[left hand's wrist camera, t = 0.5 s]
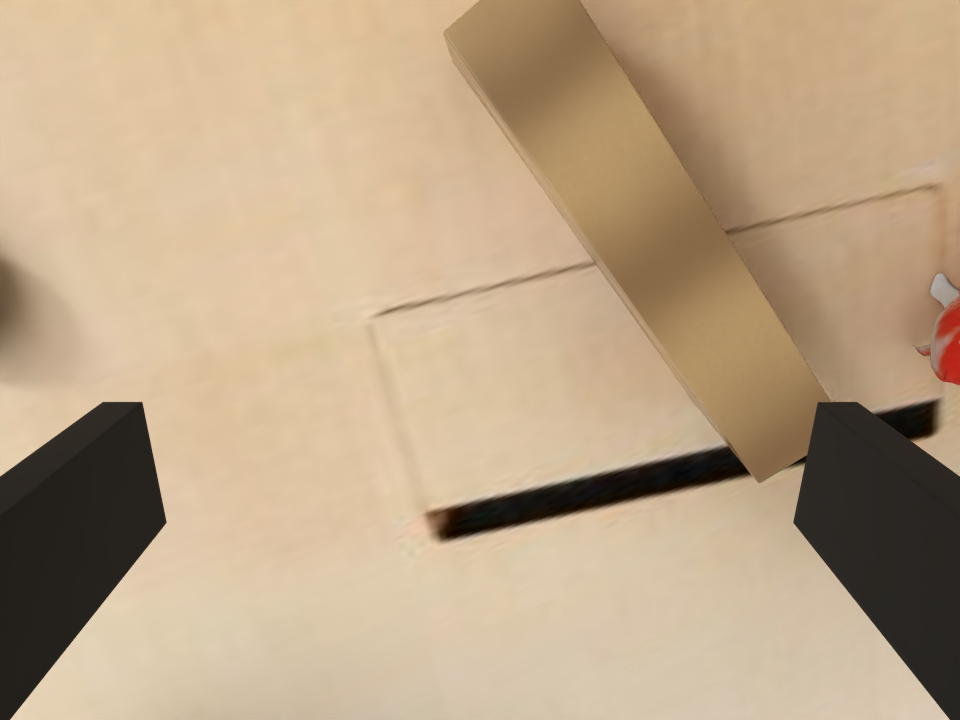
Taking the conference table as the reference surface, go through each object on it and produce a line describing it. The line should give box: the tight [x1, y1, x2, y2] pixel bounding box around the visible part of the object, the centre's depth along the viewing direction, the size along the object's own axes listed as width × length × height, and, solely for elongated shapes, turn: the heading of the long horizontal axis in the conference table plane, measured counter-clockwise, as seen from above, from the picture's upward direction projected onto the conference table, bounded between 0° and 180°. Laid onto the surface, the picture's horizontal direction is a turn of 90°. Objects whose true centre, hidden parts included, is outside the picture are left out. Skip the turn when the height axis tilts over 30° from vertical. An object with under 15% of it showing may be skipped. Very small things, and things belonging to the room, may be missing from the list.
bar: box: [443, 0, 831, 483], centre depth 30 cm, size 24×5×9 cm, turn 37°
